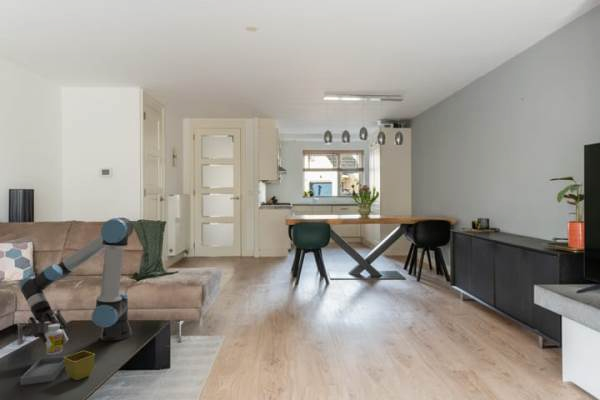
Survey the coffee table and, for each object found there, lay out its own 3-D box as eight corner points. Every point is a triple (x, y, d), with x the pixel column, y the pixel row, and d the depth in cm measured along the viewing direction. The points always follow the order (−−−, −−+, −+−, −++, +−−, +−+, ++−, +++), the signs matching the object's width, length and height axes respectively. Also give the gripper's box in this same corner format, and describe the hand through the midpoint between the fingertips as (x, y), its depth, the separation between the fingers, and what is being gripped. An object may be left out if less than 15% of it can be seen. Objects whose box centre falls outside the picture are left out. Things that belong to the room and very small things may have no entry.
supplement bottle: (55, 355, 180) (54, 327, 180) (42, 355, 181) (41, 327, 181) (66, 350, 186) (65, 323, 186) (54, 349, 188) (53, 322, 188)
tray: (68, 361, 180) (68, 355, 180) (52, 381, 160) (52, 374, 160) (39, 364, 177) (39, 358, 177) (20, 385, 157) (20, 378, 157)
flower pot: (74, 384, 158) (74, 361, 158) (63, 379, 162) (62, 357, 162) (96, 375, 165) (95, 354, 165) (84, 370, 170) (84, 350, 170)
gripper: (57, 305, 200) (76, 342, 192) (13, 315, 183) (32, 356, 175) (62, 295, 197) (82, 332, 189) (18, 305, 180) (38, 346, 172)
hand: (58, 344), depth 182 cm, fingers closed on supplement bottle, 7 cm apart
